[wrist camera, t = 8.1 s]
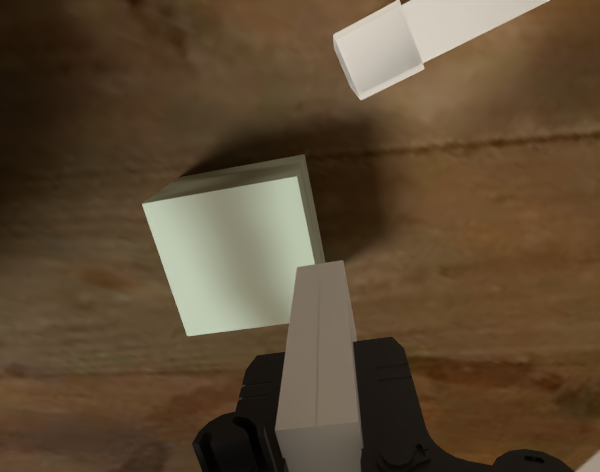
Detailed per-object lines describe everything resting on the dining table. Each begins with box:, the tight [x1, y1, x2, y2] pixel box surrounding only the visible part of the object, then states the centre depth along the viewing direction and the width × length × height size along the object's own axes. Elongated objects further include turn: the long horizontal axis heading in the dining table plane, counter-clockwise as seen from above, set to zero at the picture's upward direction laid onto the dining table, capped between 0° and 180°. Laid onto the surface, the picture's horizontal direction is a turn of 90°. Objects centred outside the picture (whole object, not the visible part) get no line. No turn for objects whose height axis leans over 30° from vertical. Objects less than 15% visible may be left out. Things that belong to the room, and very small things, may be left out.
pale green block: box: [142, 154, 326, 336], centre depth 22 cm, size 7×7×5 cm
